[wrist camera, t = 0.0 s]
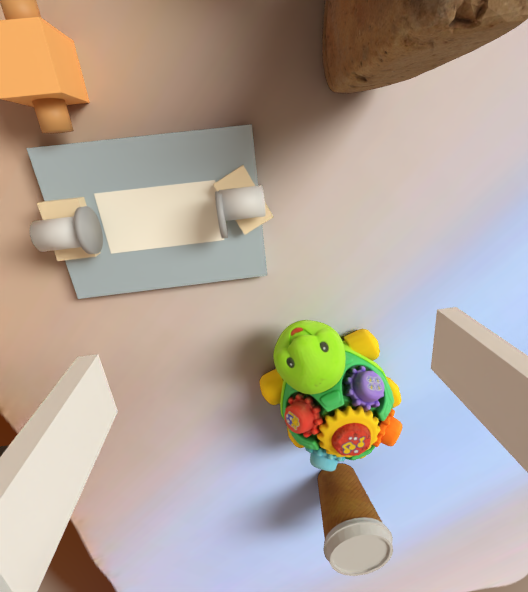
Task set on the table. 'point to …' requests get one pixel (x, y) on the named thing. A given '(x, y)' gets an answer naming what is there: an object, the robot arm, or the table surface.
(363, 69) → the block
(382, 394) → the turtle toy
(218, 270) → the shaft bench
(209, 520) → the table surface
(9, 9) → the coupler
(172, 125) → the table surface
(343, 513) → the disposable coffee cup
